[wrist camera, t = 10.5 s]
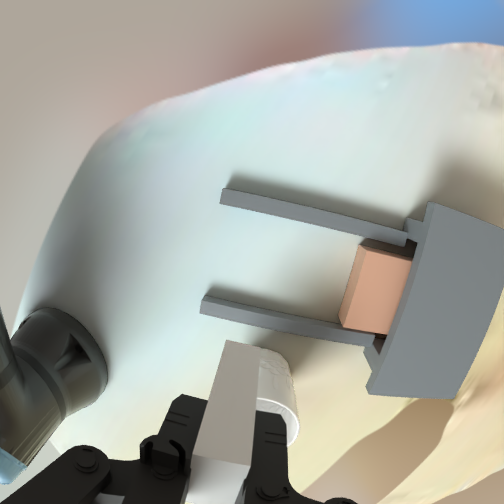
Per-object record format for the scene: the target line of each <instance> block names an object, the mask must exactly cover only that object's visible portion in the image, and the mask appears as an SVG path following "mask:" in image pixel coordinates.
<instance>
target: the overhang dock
mask: <svg viewBox="0 0 504 504" xmlns="http://www.w3.org/2000/svg"><path fill="white" fill-rule="evenodd" d="M220 204H223V205H228V206H233V207H238V208H242V209H247V210H252V211H256V212H261V213H265V214H270V215H274V216H279V217H283V218H288V219H292V220H296V221H301V222H305V223H309V224H314V225H318V226H322V227H326V228H330V229H334V230H338V231H343V232H347V233H351V234H355V235H359V236H363V237H367V238H370V239H374V240H378V241H382V242H386V243H390V244H394V245H397V246H401V247H405V243H406V240H407V238H408V239H410V240H413V241H415V242H417V243H418V244H417V247H416V251H415V255H414V258H413V261H412V265H411V268H410V271H409V275H408V278H407V281H406V284H405V287H404V290H403V293H402V296H401V299H400V302H399V305H398V308H397V311H396V313H395V316H394V319H393V322H392V324H391V327H390V330H389V332H388V335H387V337H386V340H382V339H375V334H374V332H368V331H362V330H357V329H351V328H345V327H343V326H342V324H337V323H331V322H326V321H321V320H316V319H311V318H305V317H300V316H296V315H291V314H286V313H281V312H276V311H272V310H267V309H262V308H258V307H253V306H249V305H244V304H240V303H235V302H231V301H227V300H222V299H218V298H214V297H210V296H204V297H203V299H202V301H201V307H200V313H201V314H205V315H209V316H213V317H217V318H222V319H226V320H230V321H234V322H239V323H243V324H248V325H252V326H257V327H262V328H266V329H271V330H276V331H281V332H286V333H291V334H296V335H301V336H307V337H312V338H317V339H323V340H329V341H334V342H340V343H346V344H352V345H358V346H365V349H364V352H363V353H364V355H365V357H366V359H367V361H368V363H369V366H370V368H371V370H372V373H371V376H370V378H369V380H368V382H367V384H366V389H367V391H368V394H370V395H381V396H394V397H409V398H433V399H435V398H436V399H454V398H455V396H456V394H457V392H458V390H459V389H460V387H461V385H462V383H463V381H464V379H465V377H466V375H467V373H468V371H469V369H470V367H471V365H472V363H473V361H474V359H475V357H476V355H477V353H478V351H479V348H480V346H481V344H482V342H483V339H484V337H485V335H486V332H487V330H488V327H489V325H490V322H491V320H492V317H493V315H494V312H495V310H496V307H497V304H498V301H499V298H500V296H501V293H502V290H503V287H504V229H502V228H500V227H497V226H495V225H493V224H490V223H488V222H485V221H483V220H480V219H478V218H475V217H473V216H470V215H467V214H465V213H462V212H459V211H457V210H454V209H451V208H449V207H446V206H443V205H440V204H437V203H434V202H428V203H427V208H426V212H425V216H424V221H423V222H421V221H417V220H414V219H410V218H407V217H406V220H405V224H404V228H403V231H401V230H398V229H394V228H390V227H387V226H383V225H379V224H376V223H372V222H368V221H365V220H361V219H357V218H353V217H349V216H345V215H341V214H337V213H333V212H329V211H325V210H321V209H317V208H313V207H309V206H305V205H300V204H296V203H292V202H287V201H283V200H279V199H274V198H270V197H265V196H260V195H256V194H251V193H246V192H242V191H237V190H232V189H227V188H223V189H222V194H221V199H220Z"/></svg>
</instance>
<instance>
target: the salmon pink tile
mask: <svg viewBox="0 0 504 504" xmlns="http://www.w3.org/2000/svg"><path fill="white" fill-rule="evenodd" d="M412 261H413V258H410V257H406V256H403V255H399V254H395V253H391V252H387V251H383V250H379V249H375V248H371V247H367V246H363V245H358V249H357V253H356V257H355V260H354V264H353V267H352V271H351V274H350V278H349V281H348V284H347V288H346V291H345V294H344V298H343V301H342V304H341V307H340V310H339V313H338V317H339V319H340V321H341V323H342V326H343V327H345V328H351V329H357V330H362V331H368V332H374V333H380V334H386V335H388V332H389V330H390V327H391V324H392V322H393V319H394V316H395V313H396V311H397V308H398V305H399V302H400V299H401V296H402V293H403V290H404V287H405V284H406V281H407V278H408V275H409V271H410V268H411V265H412Z"/></svg>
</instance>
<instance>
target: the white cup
mask: <svg viewBox="0 0 504 504" xmlns="http://www.w3.org/2000/svg"><path fill="white" fill-rule="evenodd" d="M256 410H259V411H265V412H271V413H277V414H281V416H282V418H283V419H284V421H285V423H286V424H287V447H289V446H290V445H291V444H292V443H293V442H294V441H295V440H296V438H297V437H298V434H299V431H300V422H299V415H298V408H297V402H296V395H295V390H294V386H293V380H292V378H291V372H290V369H289V365H288V362H287V361H286V360H285V359H284V358H283V357H282V356H281V355H280V354H279V353H277V352H274V351H272V350H269V349H261V353H260V365H259V378H258V390H257V401H256Z"/></svg>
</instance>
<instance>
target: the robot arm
mask: <svg viewBox="0 0 504 504" xmlns="http://www.w3.org/2000/svg"><path fill="white" fill-rule="evenodd" d="M260 353H261V347H257V346H252V345H247V344H243V343H238V342H234V341H229V340H226V342H225V345H224V349H223V352H222V356H221V359H220V362H219V366H218V369H217V372H216V376H215V379H214V383H213V386H212V389H211V393H210V396H209V399H208V400H204V399H200V398H196V397H192V396H188V395H184V394H181V395H180V396H179V397H177V398H176V399H175V400H173V401H172V404H171V406H170V408H169V410H168V413H167V415H166V417H165V420H164V421H163V424H162V426H161V428H160V430H159V433H158V435H152V436H150V437H148V438H145V439H144V440H143V441H142V443H141V444H140V459H137V460H133V461H123V460H113V459H108V457H107V455H105V454H104V453H103V452H102V451H101V450H99V449H97V448H95V447H93V446H87V445H80V446H74V447H73V448H71V449H69V450H67V451H66V452H65V453H64V454H62V455H61V456H60V457H59V458H57V459H56V460H55V461H54V462H52V463H51V464H50V465H49V466H47V467H46V468H45V469H44V470H42V471H41V472H40V473H38V474H37V475H36V476H35V477H33V478H32V479H31V480H29V481H28V482H27V483H26V484H24V485H23V486H22V487H20V488H19V489H18V490H17V491H15V492H14V493H13V494H11V495H10V496H9V497H7V498H6V499H5V500H3V501H2V502H1V503H0V504H185V502H188V503H192V504H357V503H356V502H354V501H353V500H351V499H347V498H332V499H330V500H327V501H326V502H325V503H322V502H319V501H315V500H312V499H309V498H307V497H304V496H302V495H300V494H299V493H298V492H296V491H295V490H294V489H293V488H292V486H291V484H290V482H289V479H288V453H287V424H286V423H285V421H284V419H283V418H282V416H281V414H277V413H271V412H265V411H259V410H256V401H257V390H258V378H259V365H260ZM106 384H107V368H106V364H105V360H104V357H103V355H102V353H101V351H100V349H99V347H98V345H97V344H96V342H95V340H94V339H93V338H92V336H91V335H90V334H89V332H88V331H87V330H86V329H85V328H84V327H83V326H82V325H81V324H80V323H79V322H78V321H77V320H75V319H74V318H73V317H71V316H70V315H68V314H66V313H64V312H62V311H60V310H57V309H54V308H42V309H39V310H37V311H35V312H33V313H32V314H30V315H28V316H27V317H26V318H25V319H24V320H23V321H22V323H21V324H20V326H19V328H18V330H17V331H16V332H15V334H14V335H13V337H12V338H11V340H10V338H9V335H8V332H7V329H6V325H5V322H4V319H3V315H2V311H1V307H0V484H4V485H5V484H10V483H12V482H13V481H14V480H15V479H16V478H17V477H18V476H19V475H20V474H21V472H22V471H23V470H26V469H27V467H28V466H29V464H30V463H31V461H32V460H33V459H34V457H35V456H36V455H37V453H38V452H39V451H40V450H41V448H42V447H43V446H44V444H45V443H46V441H47V440H48V439H49V438H50V436H51V435H52V434H53V432H54V431H55V430H56V429H57V427H58V426H59V425H60V424H61V422H62V421H63V420H64V419H65V418H66V417H67V416H69V415H71V414H73V413H75V412H77V411H79V410H81V409H82V408H85V407H87V406H90V405H91V404H93V403H94V402H95V401H96V400H97V399H98V398H99V396H100V395H101V394H102V392H103V391H104V389H105V387H106Z"/></svg>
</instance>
